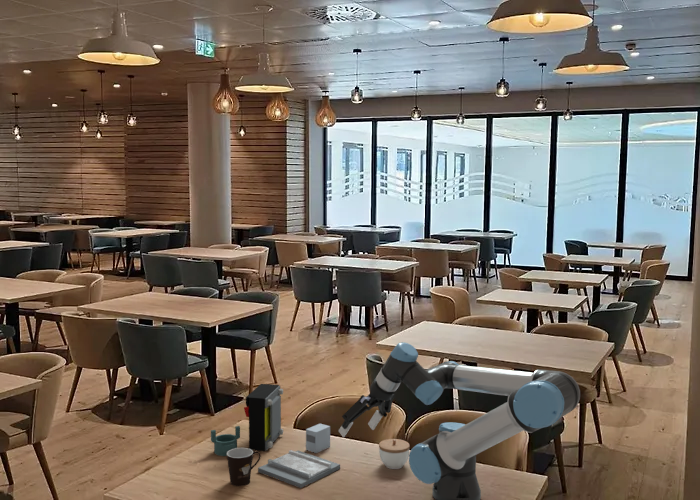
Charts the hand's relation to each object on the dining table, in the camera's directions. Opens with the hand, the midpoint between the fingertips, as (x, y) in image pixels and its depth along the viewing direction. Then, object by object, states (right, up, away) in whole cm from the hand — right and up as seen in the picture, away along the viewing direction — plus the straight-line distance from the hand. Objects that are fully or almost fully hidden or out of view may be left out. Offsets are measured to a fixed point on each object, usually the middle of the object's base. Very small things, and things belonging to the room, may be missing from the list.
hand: (356, 430), depth 227 cm
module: (-14, -15, +32) cm, 38 cm away
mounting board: (-20, -17, +12) cm, 28 cm away
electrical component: (-35, -14, +38) cm, 53 cm away
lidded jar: (+13, -17, +16) cm, 27 cm away
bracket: (-48, -15, +28) cm, 57 cm away
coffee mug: (-37, -18, +3) cm, 41 cm away
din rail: (-20, -15, +12) cm, 27 cm away
